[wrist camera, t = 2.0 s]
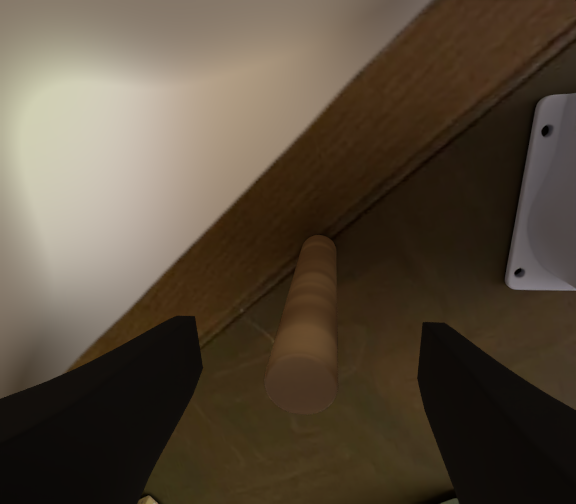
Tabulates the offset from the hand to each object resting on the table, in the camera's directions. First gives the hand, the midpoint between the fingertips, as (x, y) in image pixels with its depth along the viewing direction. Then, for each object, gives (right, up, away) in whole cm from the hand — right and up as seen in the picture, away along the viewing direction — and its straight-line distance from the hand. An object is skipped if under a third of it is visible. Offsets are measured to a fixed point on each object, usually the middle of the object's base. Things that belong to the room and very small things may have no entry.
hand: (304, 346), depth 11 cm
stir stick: (+1, +3, +9) cm, 9 cm away
